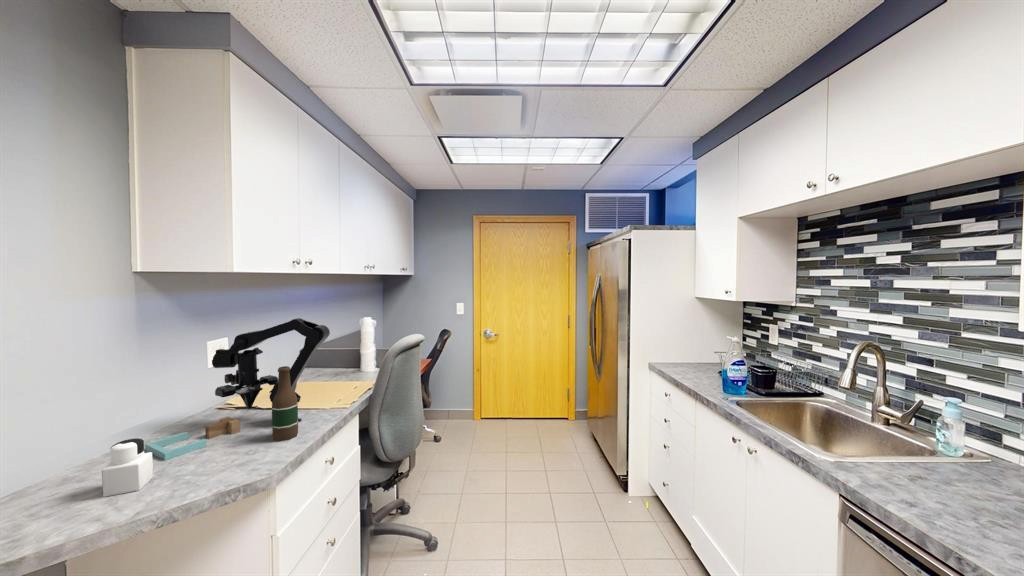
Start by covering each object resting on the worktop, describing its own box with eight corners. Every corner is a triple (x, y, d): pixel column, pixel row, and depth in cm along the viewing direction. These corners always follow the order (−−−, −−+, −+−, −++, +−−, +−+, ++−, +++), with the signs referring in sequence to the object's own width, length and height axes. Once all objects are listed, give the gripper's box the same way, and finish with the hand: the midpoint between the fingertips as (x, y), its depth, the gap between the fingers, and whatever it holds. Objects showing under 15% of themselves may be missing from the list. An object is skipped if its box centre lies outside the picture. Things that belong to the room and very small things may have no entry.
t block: (201, 435, 128) (201, 424, 128) (228, 427, 135) (227, 416, 135) (213, 440, 124) (212, 428, 124) (239, 431, 131) (239, 420, 131)
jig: (207, 446, 120) (206, 440, 120) (165, 460, 111) (164, 453, 111) (186, 437, 127) (186, 431, 127) (145, 450, 118) (144, 443, 117)
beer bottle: (269, 437, 126) (267, 367, 126) (294, 430, 132) (292, 363, 131) (276, 444, 121) (274, 371, 120) (302, 436, 127) (300, 366, 126)
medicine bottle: (118, 483, 99) (117, 438, 98) (153, 477, 101) (152, 433, 101) (102, 497, 92) (100, 450, 92) (140, 490, 95) (138, 444, 95)
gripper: (262, 359, 149) (263, 397, 149) (206, 370, 132) (208, 413, 133) (278, 362, 144) (279, 402, 144) (222, 373, 127) (224, 418, 128)
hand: (249, 408), depth 137 cm, fingers closed
